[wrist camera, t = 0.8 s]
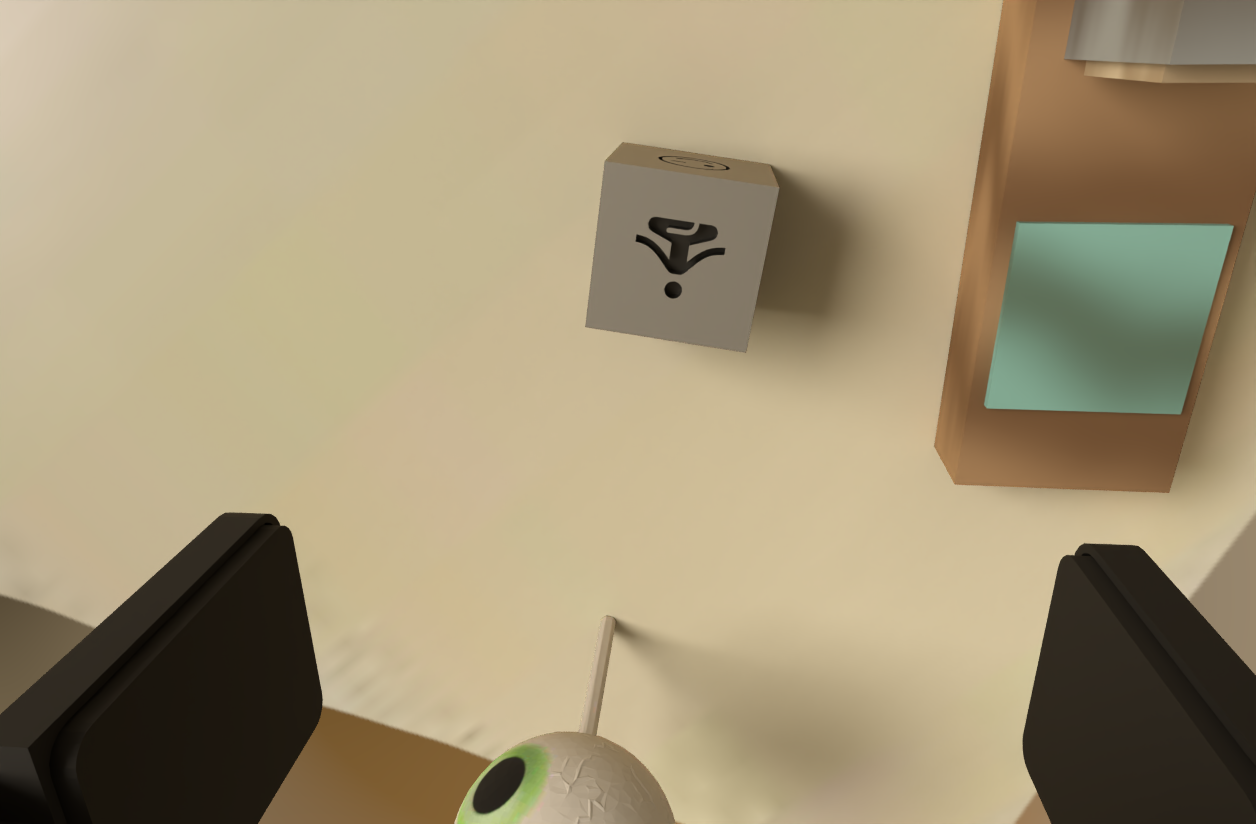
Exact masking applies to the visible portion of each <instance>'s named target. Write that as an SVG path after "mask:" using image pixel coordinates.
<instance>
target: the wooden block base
mask: <svg viewBox="0 0 1256 824" xmlns="http://www.w3.org/2000/svg"><path fill="white" fill-rule="evenodd" d="M1255 192H1256V0H1003V6H1002V13H1001V19H1000V26H999V32H998V39H997V45H996V52H995V58H994V65H993V71H992V77H991V84H990V90H989V97H988V103H987V110H986V116H985V123H984V129H983V135H982V142H981V148H980V155H979V161H978V168H977V174H976V181H975V187H974V193H973V200H972V206H971V213H970V219H969V226H968V232H967V239H966V245H965V251H964V258H963V264H962V271H961V277H960V284H959V290H958V297H957V303H956V309H955V316H954V322H953V329H952V335H951V342H950V348H949V355H948V361H947V367H946V374H945V380H944V387H943V393H942V400H941V406H940V413H939V419H938V425H937V432H936V438H935V445H934V447H935V448H936V450H937V452H938V454H939V456H940V458H941V460H942V462H943V463H944V465H945V467H946V469H947V471H948V473H949V475H950V476H951V478H952V480H953V482H954V484H957V485H983V486H1008V487H1034V488H1060V489H1085V490H1111V491H1136V492H1162V493H1169V491H1170V488H1171V484H1172V481H1173V477H1174V474H1175V470H1176V467H1177V463H1178V460H1179V456H1180V453H1181V449H1182V446H1183V442H1184V439H1185V436H1186V432H1187V429H1188V425H1189V422H1190V418H1191V415H1192V411H1193V408H1194V404H1195V401H1196V397H1197V394H1198V390H1199V387H1200V383H1201V380H1202V376H1203V373H1204V369H1205V366H1206V362H1207V359H1208V355H1209V352H1210V348H1211V345H1212V341H1213V338H1214V334H1215V331H1216V328H1217V324H1218V321H1219V317H1220V314H1221V310H1222V307H1223V303H1224V300H1225V296H1226V293H1227V289H1228V286H1229V282H1230V279H1231V275H1232V272H1233V268H1234V265H1235V261H1236V258H1237V254H1238V251H1239V247H1240V244H1241V240H1242V237H1243V233H1244V230H1245V227H1246V223H1247V220H1248V216H1249V213H1250V209H1251V206H1252V202H1253V199H1254V195H1255Z"/></svg>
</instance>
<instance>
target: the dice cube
mask: <svg viewBox="0 0 1256 824" xmlns="http://www.w3.org/2000/svg"><path fill="white" fill-rule="evenodd" d="M778 192H779V185H778V183H777V181H776V178H775V176H774V173H773V171H772V169H771V166H770V164H764V163H757V162H750V161H744V160H737V159H730V158H724V157H717V156H711V155H704V154H697V153H691V152H684V151H677V150H671V149H664V148H657V147H651V146H644V145H637V144H631V143H624V142H623V143H622V144H621V145H620V146H619V147H618V148H617V149H616V150H615V151H614V152H613V153H612V154H611V155H610V156H609V157H608V158H607V159H606V160H605V164H604V172H603V181H602V189H601V198H600V206H599V215H598V223H597V232H596V240H595V249H594V257H593V266H592V274H591V283H590V291H589V300H588V308H587V317H586V325H585V327H587V328H594V329H600V330H606V331H613V332H619V333H625V334H632V335H638V336H644V337H650V338H657V339H663V340H669V341H676V342H682V343H688V344H695V345H701V346H707V347H713V348H720V349H726V350H732V351H739V352H745V353H746V350H747V345H748V340H749V335H750V330H751V325H752V321H753V316H754V311H755V306H756V301H757V296H758V291H759V286H760V281H761V276H762V271H763V266H764V261H765V257H766V252H767V247H768V242H769V237H770V232H771V227H772V222H773V217H774V212H775V207H776V202H777V197H778Z"/></svg>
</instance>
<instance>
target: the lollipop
mask: <svg viewBox="0 0 1256 824" xmlns="http://www.w3.org/2000/svg"><path fill="white" fill-rule="evenodd" d="M615 623H616V621H615V619H614V618H613V617H609V616H605V617H604V618H602V619H601V623H600V628H599V633H598V638H597V643H596V648H595V653H594V657H593V662H592V667H591V672H590V677H589V682H588V687H587V692H586V697H585V702H584V707H583V712H582V717H581V722H580V727H579V732H554V733H549V734H544V735H540V736H537V737H534V738H531V739H528V740H526V741H523V742H521V743H519V744H518V745H516V746H514V747H512V748H510V749H508V750H507V751H506V752H505V753H503V754H502V755H501V756H499V757H498V758H497V759H495V760H494V761H493V762H492V763H491V764H490V765H489V766H488V767H487V768H486V769H485V771H484V772H483V773H482V774H481V775H480V776H479V778H478V779H477V780H476V781H475V783H474V784H473V786H472V787H471V788H470V790H469V792H468V793H467V795H466V797H465V799H464V801H463V803H462V805H461V807H460V809H459V812H458V815H457V817H456V820H455V823H454V824H676V823H675V820H674V816H673V813H672V810H671V808H670V805H669V803H668V800H667V798H666V796H665V794H664V792H663V790H662V789H661V787H660V785H659V783H658V782H657V781H656V779H655V778H654V776H653V775H652V774H651V773H650V771H649V770H648V769H647V768H646V767H645V766H644V765H643V764H642V763H641V762H640V761H639V760H638V759H637V758H636V757H635V756H634V755H632V754H631V753H630V752H628V751H627V750H626V749H624V748H623V747H621V746H619V745H617V744H615V743H613V742H611V741H609V740H607V739H605V738H603V737H601V736H596V734H597V728H598V722H599V717H600V711H601V705H602V699H603V693H604V687H605V682H606V676H607V670H608V664H609V658H610V653H611V647H612V641H613V635H614V629H615Z"/></svg>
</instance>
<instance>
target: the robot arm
mask: <svg viewBox="0 0 1256 824" xmlns="http://www.w3.org/2000/svg"><path fill="white" fill-rule="evenodd" d="M322 701H323V699H322V691H321V686H320V680H319V675H318V669H317V664H316V659H315V653H314V648H313V643H312V637H311V632H310V627H309V621H308V616H307V611H306V605H305V600H304V594H303V589H302V584H301V578H300V573H299V568H298V562H297V557H296V552H295V546H294V541H293V537H292V533H291V531H290V530H289V528H288V527H286V526H280V523H279V521H278V520H277V518H276V517H275V516H273V515H271V514H257V513H224V514H222V515H221V516H219V517H218V518H217V519H216V520H215V521H213V522H212V523H211V524H210V525H209V526H208V527H207V528H206V529H205V530H204V531H202V532H201V533H200V534H199V535H198V536H197V537H196V538H195V539H194V540H192V541H191V542H190V543H189V544H188V545H187V546H186V547H185V548H184V549H183V550H181V551H180V552H179V553H178V554H177V555H176V556H175V557H174V558H173V559H172V560H170V561H169V562H168V563H167V564H166V565H165V566H164V567H163V568H162V569H160V570H159V571H158V572H157V573H156V574H155V575H154V576H153V577H152V578H151V579H149V580H148V581H147V582H146V583H145V584H144V585H143V586H142V587H141V588H139V589H138V590H137V591H136V592H135V593H134V594H133V595H132V596H131V597H130V598H128V599H127V600H126V601H125V602H124V603H123V604H122V605H121V606H120V607H118V608H117V609H116V610H115V611H114V612H113V613H112V614H111V615H110V616H109V617H107V618H106V619H105V620H104V621H103V622H102V623H101V624H100V625H99V626H98V627H96V628H95V629H94V630H93V631H92V632H91V633H90V634H89V635H88V636H86V638H84V639H83V640H82V641H81V642H80V643H79V644H78V645H77V646H75V648H74V649H72V650H71V651H70V652H69V653H68V654H67V655H66V656H64V657H63V658H62V659H61V660H60V661H59V662H58V663H57V664H56V665H54V666H53V667H52V668H51V669H50V670H49V671H48V672H47V673H46V674H45V675H43V676H42V677H41V678H40V679H39V680H38V681H37V682H36V683H35V684H33V685H32V686H31V687H30V688H29V689H28V690H27V691H26V692H25V693H24V694H22V695H21V696H20V697H19V698H18V699H17V700H16V701H15V702H14V703H12V704H11V705H10V706H9V707H8V708H7V709H6V710H5V711H4V712H3V713H1V715H0V824H258V822H259V821H260V819H261V817H262V816H263V814H264V812H265V811H266V809H267V808H268V806H269V804H270V803H271V801H272V799H273V798H274V796H275V794H276V793H277V791H278V789H279V788H280V786H281V784H282V783H283V781H284V779H285V778H286V776H287V774H288V773H289V771H290V769H291V768H292V766H293V765H294V763H295V761H296V759H297V758H298V756H299V755H300V753H301V751H302V750H303V748H304V746H305V744H306V743H307V741H308V740H309V738H310V736H311V735H312V733H313V731H314V730H315V728H316V726H317V724H318V722H319V719H320V715H321V710H322ZM1023 755H1024V760H1025V764H1026V767H1027V770H1028V772H1029V775H1030V777H1031V779H1032V781H1033V783H1034V786H1035V788H1036V790H1037V792H1038V795H1039V797H1040V799H1041V801H1042V804H1043V806H1044V808H1045V810H1046V812H1047V815H1048V817H1049V819H1050V821H1051V824H1256V675H1255V674H1254V673H1253V672H1252V671H1251V670H1250V669H1249V667H1248V666H1247V665H1246V664H1245V663H1244V662H1243V661H1242V660H1241V659H1240V657H1239V656H1238V655H1237V654H1236V653H1235V652H1234V651H1233V650H1232V649H1231V647H1230V646H1229V645H1228V644H1227V643H1226V642H1225V641H1224V639H1222V637H1221V636H1220V635H1219V634H1218V633H1217V632H1216V630H1215V629H1214V628H1213V627H1212V626H1211V625H1210V624H1209V623H1208V622H1207V620H1206V619H1205V618H1204V617H1203V616H1202V615H1201V614H1200V613H1199V612H1198V611H1197V609H1196V608H1195V607H1194V606H1193V605H1192V604H1191V603H1190V601H1189V600H1188V599H1187V598H1186V597H1185V596H1184V595H1183V594H1182V592H1181V591H1180V590H1179V589H1178V588H1177V587H1176V586H1175V585H1174V584H1173V582H1172V581H1171V580H1170V579H1169V578H1168V577H1167V576H1166V575H1165V573H1164V572H1163V571H1162V570H1161V569H1160V568H1159V567H1158V566H1157V564H1156V563H1155V562H1154V561H1153V560H1152V559H1151V558H1150V557H1149V556H1148V554H1147V553H1146V552H1145V551H1144V550H1143V549H1141V548H1140V547H1139V546H1134V545H1112V544H1085V543H1084V544H1083V545H1081V546H1079V548H1078V549H1077V551H1076V552H1075V556H1074V555H1066V556H1064V557H1063V558H1062V559H1061V561H1060V564H1059V567H1058V571H1057V576H1056V580H1055V585H1054V590H1053V595H1052V600H1051V604H1050V609H1049V614H1048V619H1047V623H1046V628H1045V633H1044V638H1043V642H1042V647H1041V652H1040V657H1039V662H1038V666H1037V671H1036V676H1035V681H1034V685H1033V690H1032V695H1031V700H1030V704H1029V709H1028V714H1027V719H1026V724H1025V728H1024V733H1023Z"/></svg>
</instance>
